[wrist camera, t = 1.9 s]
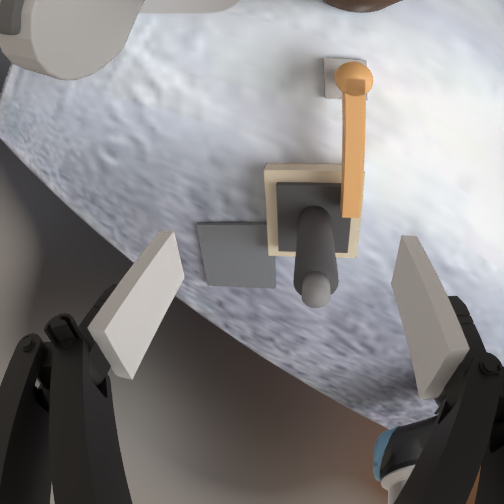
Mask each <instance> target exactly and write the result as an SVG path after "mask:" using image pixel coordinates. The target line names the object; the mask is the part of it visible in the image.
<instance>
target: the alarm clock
mask: <svg viewBox="0 0 504 504" xmlns="http://www.w3.org/2000/svg"><path fill="white" fill-rule="evenodd" d="M144 1H145V0H0V47H1V50H2V52H3V53H4V54H5V56H6V57H7V58H8V59H9V60H10V61H11V62H12V63H13V64H15V65H17V66H20V67H22V68H24V69H27V70H31V71H34V72H37V73H41V74H44V75H47V76H51V77H54V78H57V79H60V80H77V79H80V78H83V77H86V76H89V75H91V74H93V73H94V72H96V71H98V70H99V69H101V68H103V67H104V66H105V65H107V64H108V63H109V62H110V61H111V60H112V59H113V58H114V57H115V56H117V55H118V54H119V52H120V51H121V50H122V49H123V48H124V46H125V44H126V41H127V39H128V36H129V34H130V31H131V29H132V27H133V24H134V22H135V20H136V18H137V15H138V13H139V11H140V9H141V7H142V5H143V3H144Z"/></svg>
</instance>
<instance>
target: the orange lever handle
mask: <svg viewBox="0 0 504 504" xmlns="http://www.w3.org/2000/svg"><path fill="white" fill-rule="evenodd" d="M334 81H335V84H336V86H337V87H338V89H339V90H341V91H342V112H343V137H342V179H341V200H340V210H341V214H342V218H360V211H361V199H362V186H363V171H364V151H365V94H366V93H368V92H369V91H370V89H371V88H372V85H373V76H372V74H371V72H370V70H369V69H368V68H367V67H366V66H365V65H364V64H362V63H359V62H347V63H344V64H342V65H340V66H339V67H338V68H337V69H336V71H335V74H334Z"/></svg>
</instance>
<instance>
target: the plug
mask: <svg viewBox="0 0 504 504" xmlns="http://www.w3.org/2000/svg"><path fill="white" fill-rule="evenodd" d="M276 196H277V221H278V251H283V252H296V257H295V270H294V287H295V289H296V291H297V292H298V293H299V294H300V295H302V300H303V302H304V303H305V304H306V305H307V306H309V307H313V308H319V307H323V306H325V305H326V304H327V303H328V302H329V301H330V298H331V294H333V293H334V292H335V290H336V289H337V286H338V281H339V280H338V271H337V263H336V255H335V253H348V245H349V235H350V224H351V218H342V214H341V210H340V200H341V183H313V182H277V184H276Z"/></svg>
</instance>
